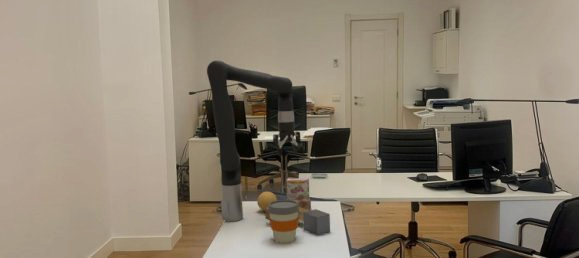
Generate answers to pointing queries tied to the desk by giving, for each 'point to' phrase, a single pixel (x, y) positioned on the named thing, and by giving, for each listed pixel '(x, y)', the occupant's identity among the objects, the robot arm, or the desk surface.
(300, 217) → the brass bar
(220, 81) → the robot arm
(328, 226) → the grey sleeve
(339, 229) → the desk surface
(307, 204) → the walnut block
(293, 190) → the candy bar box
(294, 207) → the reusable coffee cup
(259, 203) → the stress ball
